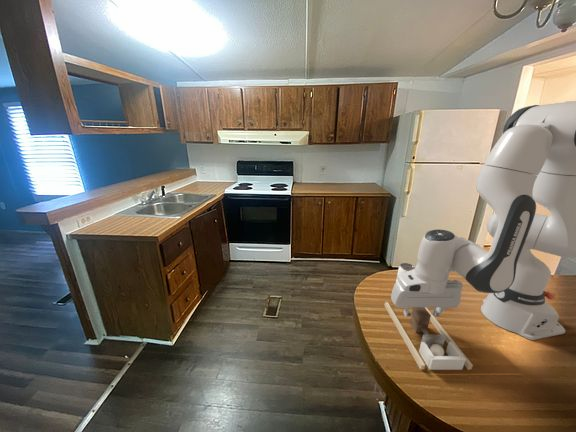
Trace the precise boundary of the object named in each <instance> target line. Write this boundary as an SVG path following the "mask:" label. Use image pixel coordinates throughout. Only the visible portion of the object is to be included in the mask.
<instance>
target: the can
mask: <svg viewBox="0 0 576 432" xmlns="http://www.w3.org/2000/svg"><path fill="white" fill-rule="evenodd" d="M415 266H416V265H413V264H411V263H406V262H403V263H401V264H400V265H399V266H398V270H397V275H398V274H400V273H404V272H407V271H410V270H413V269H415ZM397 275H396V276H397ZM396 282H398V279H397V278H396V280H395V283H396Z"/></svg>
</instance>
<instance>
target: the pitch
mask: <svg viewBox="0 0 576 432" xmlns="http://www.w3.org/2000/svg"><path fill="white" fill-rule="evenodd" d="M384 307H385V309H386V311H387V313H388V315H389V316H390V318H391V320H392V321H393V324H394V325H395V327H396V329H397V330H398V332H399V334H400V336H401V338H402V340H403V341H404V343H405V344H406V347H407V348H408V350H409V352H410V354H411V355H412V357H413V359H414V361H415V362H416V364H417V367H418V368H419V371H420V370H422V371H423V370H425V368H426V363H425V361H424V360H423V358H422V356H421V355H420V353H419V351H417V349H416V347H415V345H414V344H413V342H412V340H411V339H410V337H409V335H408V334H407V332H406V331H405V328H404V327H403V325H402V323H401V322H400V320H399V319H398V317H397V315H396V313H395V312H394V310H393V309H392V307H391V306H390V303H389V302H388V301H385V302H384ZM428 308H429V307H425V309H426V310H427V311H428V312H429V314H430V315H431V317H430V321H429V322H431V324H432V325H433V326H434V327H435V329H436V330H437V331H438V333H439V335H444V337H445V341H444V342H446V343H447V344H448V343H449V342H453V344H454V345H455V346H456V348H457V349H458V350H459V351H460V353H461V354H462V355H463V356H464V358H465V359H466V360H465V363H464V367H465V368H466V370H470V371H471V370H473V369H472V368H473V366H474V364H472V362H471V361H470V360H469V358H468V356H466V355H465V354H464V353H463V351H462V350H461V349H460V347H459V346H458V345H457V344H456V342H455V341H454V339H453V338H452V337H451V336H450V335H449V334H448V332H447V331H446V330H445V328H443V325H441V324H440V321H438V320H437V318H436V317H435V316H434V315H433V313H432V312H431V311H430V309H428Z"/></svg>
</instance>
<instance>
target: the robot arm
mask: <svg viewBox="0 0 576 432" xmlns="http://www.w3.org/2000/svg"><path fill="white" fill-rule="evenodd" d="M475 188H476V191H477V193H478V195H479V197H481V200H483V201H484V202H485V203H486V204H488V205H489V207H490V208H491V209H492V210H493V211H494V213H492V215H490V217H489V218H488V219H487V223H486V229H487V232H488V233H489V236H491V238H493V239H492V241H491V245H490V246H489V250H486V249H485V248H483V247H482V246H480V245H479V244H476V243H475V242H473V241H472V240H469V239H467V238H464V237H459V236H457V235H455V233H453V232H452V231H449V230H446V229H433V230H429V231H426V233H425V234H423V236H422V238H421V240H420V244H419V247H418V251H417V255H416V258H417V263H416V265H414V266H415V269H413V270H410V271H407V272H404V273H400V274H398V273H397V274H398V275H396V279H398V282H396V281H395V283H394V285H393V288H392V291H391V295H390V296H391V297H390V298H391V301H392V303H393V305H394V307H396V308H403V315H404V317H405V318H407V317H408V318H409V317H410V318H411V315H412V312H411V311H410V308H413V307H427V308H433V309H432V312H431V314H432V315H433V316H434V317H435V318H436V317H438V318H439V317H441V315H442V313H443V312H444V311H445V310H446V309H447V308H458V307H459V306H460V305H461V301H462V300H461V299H462V289H463V287H464V285H463V283H462V281H460V280H458V279H449V277H450V273H451V272H456V273H457V274H458V275H460V276H461V277H462V278H463V279H465V281H466V282H468V284H470V285H471V287H472V288H473V289H475V290H476V291H477V292H480V293H485V294H486V293H487V297H484V298H483V300H482V303H483V304H482V305H481V307H480V311H481V313H482V314H483V316H484V317H485V318H486V319H487V320H489V321H490V322H491V323H492V324H494V325H496V326H498V327H500V328H502V329H504V330H506V331H509V332H512V333H515V334H518V335H520V336H522V337H523V338H525V339H527V340H531V341H535V340H540V339H545V338H549V337H553V336H554V337H555V336H559V335H563V334H565V333H566V329H565V328H564V327H563V325H562V324H560V323H559V318H560V315H559V313H558V312H557V310H556V309H555V308H554V307H553V306H552V305H550V303H548V302H547V301H546V298H547V299H548V300H554V299H555V298H556V295H555V294H553V293H552V292H550V291H549V290H547V291H545V290H546V287H547V285H548V283H549V281H550V279H551V276H552V272H551V270H550V268H549V266H548V265H547V264H546V263H545V262H544V261H542V260H541V259H539V258H538V257H537V256H535V254H533V253H532V250H535V251H539V252H543V253H546V254H549V255H553V256H557V257H561V258H566V259H569V260H570V259H571V260H576V100H572V101H571V100H569V101H564V102H555V103H554V102H553V103H547V104H542V105H540V104H539V105H538V104H534V105H528V106H525V107H521V108H519V109H518V110H516V111H515V112H513V113H512V114H511V115H510V116H509V117H508V118H507V119H506V121H505V123H504V125H503V129H502V135H501V136H500V138H498V140H497V141H496V142H495V144H494V146H493V147H492V149H491V150H490V151H489V154H488V155H487V157H486V159H485V161H484V162H483V165H482V167H481V168H480V171H479V172H478V175H477V178H476V182H475ZM536 203H537V204H538V205H540V206H542V207H544V208H546V209H547V210H548V211H549V212H550V214H551V215H544V214H538V213H536V211H537V204H536Z"/></svg>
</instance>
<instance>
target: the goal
mask: <svg viewBox="0 0 576 432" xmlns="http://www.w3.org/2000/svg"><path fill="white" fill-rule="evenodd" d="M420 344H421V345H419V350H418V354H419V355H420V357H421V359H422V361H423V362H424V364H425V365H426V366H427V368H428V370H429V371H430V370H431V371H433V370H434V371H435V370H436V371H437V370H441V371H442V370H444V371H445V370H447V371H448V370H449V371H450V370H454V371H455V370H457V371H459V370H461V371H462V370H463V369H464V367H465V365H464V363H465V360H466V359H465V358H464V356H463V355H462V354H461V353H460V351H459V350H458V349H457V348H456V346H455V345H454V344H453V342H449V343H447V346H446V349H445V353H446V354H447V355H444V356H434V355H433V354H432V352H431V351H430V349H429V348H428V346H427V345H426V343H425V342H421V341H420Z"/></svg>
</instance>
